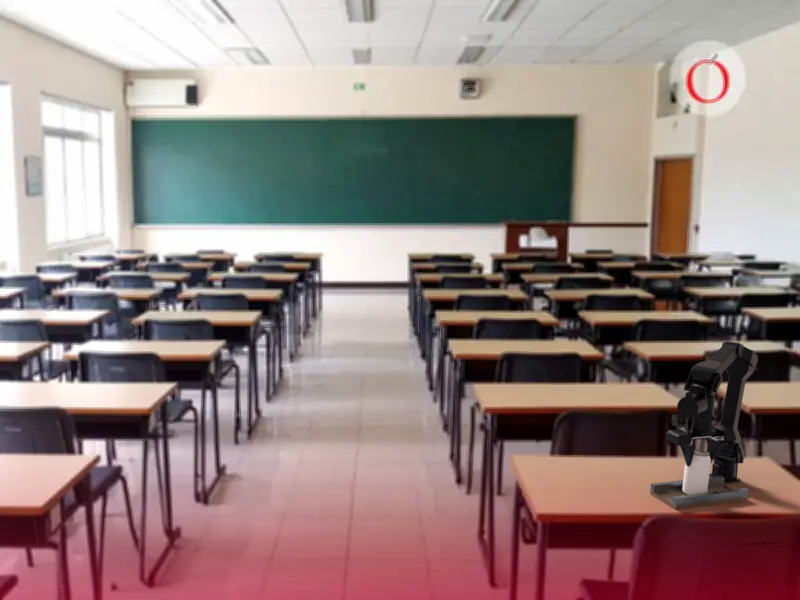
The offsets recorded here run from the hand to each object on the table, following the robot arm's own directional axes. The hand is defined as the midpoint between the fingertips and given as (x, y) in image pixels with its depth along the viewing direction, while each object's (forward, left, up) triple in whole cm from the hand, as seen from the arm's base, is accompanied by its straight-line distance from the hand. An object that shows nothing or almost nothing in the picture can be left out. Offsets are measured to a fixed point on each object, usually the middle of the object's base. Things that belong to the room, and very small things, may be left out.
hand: (698, 465), depth 209 cm
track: (-1, 0, -9) cm, 9 cm away
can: (0, 0, -9) cm, 9 cm away
